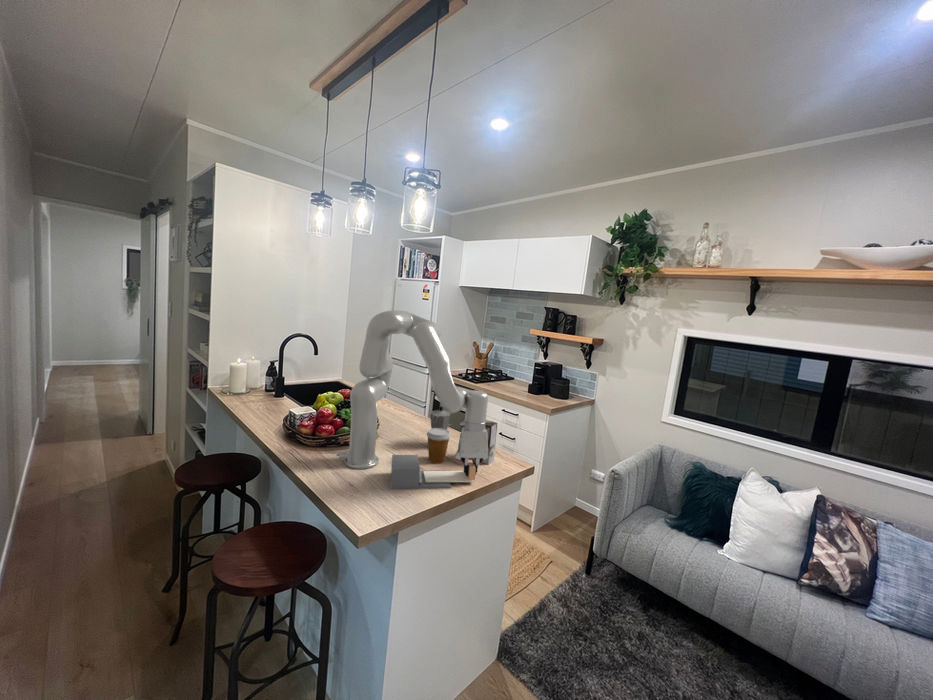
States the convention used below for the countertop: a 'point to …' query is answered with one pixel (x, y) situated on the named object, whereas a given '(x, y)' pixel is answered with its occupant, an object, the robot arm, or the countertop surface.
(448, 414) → the coffeepot
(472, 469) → the sliding tray
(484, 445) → the robot arm
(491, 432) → the coffee box
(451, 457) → the countertop surface
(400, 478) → the dispenser
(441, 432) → the disposable coffee cup
